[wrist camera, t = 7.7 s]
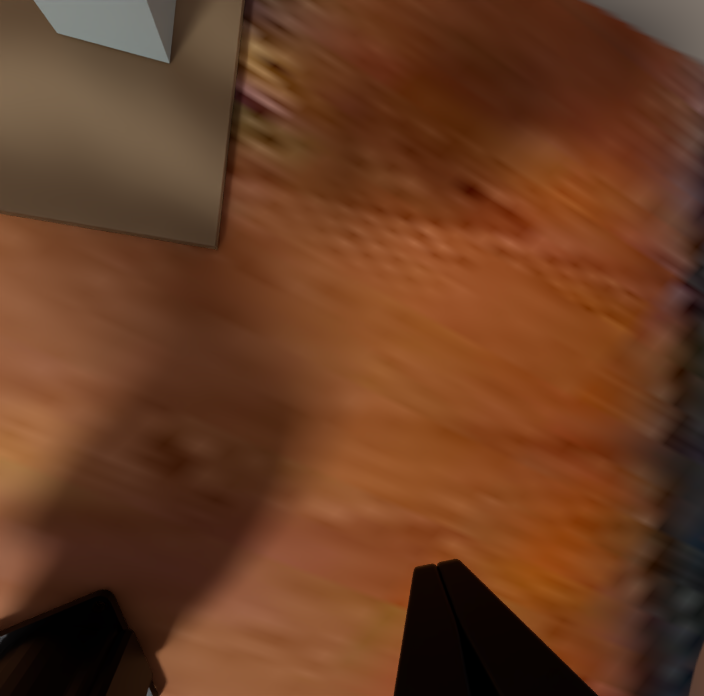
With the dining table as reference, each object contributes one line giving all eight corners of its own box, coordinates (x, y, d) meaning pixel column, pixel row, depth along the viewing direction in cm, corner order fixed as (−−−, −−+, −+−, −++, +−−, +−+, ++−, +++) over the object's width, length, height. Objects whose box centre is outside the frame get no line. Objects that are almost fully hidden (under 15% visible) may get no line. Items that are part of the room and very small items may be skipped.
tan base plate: (217, 249, 17) (198, 221, 12) (-20, 210, 15) (-154, 158, 10) (251, -58, 17) (246, -214, 12) (10, -144, 14) (-117, -378, 10)
